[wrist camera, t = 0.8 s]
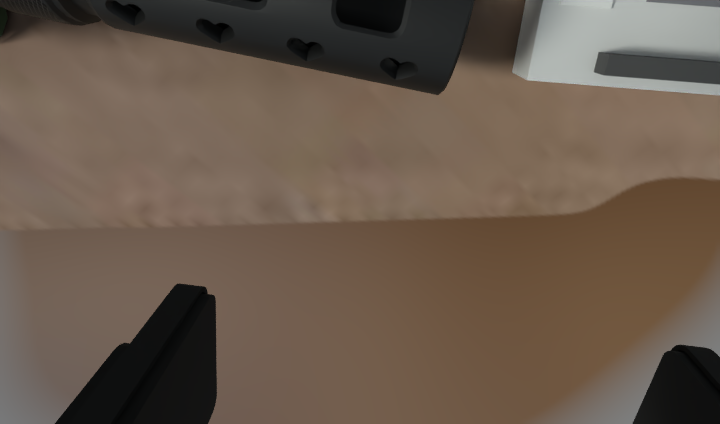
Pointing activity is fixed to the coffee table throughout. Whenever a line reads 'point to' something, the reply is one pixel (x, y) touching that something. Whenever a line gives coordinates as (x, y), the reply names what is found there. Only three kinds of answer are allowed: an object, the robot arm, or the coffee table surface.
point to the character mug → (2, 19)
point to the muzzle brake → (296, 31)
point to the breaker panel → (615, 39)
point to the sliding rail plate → (658, 68)
